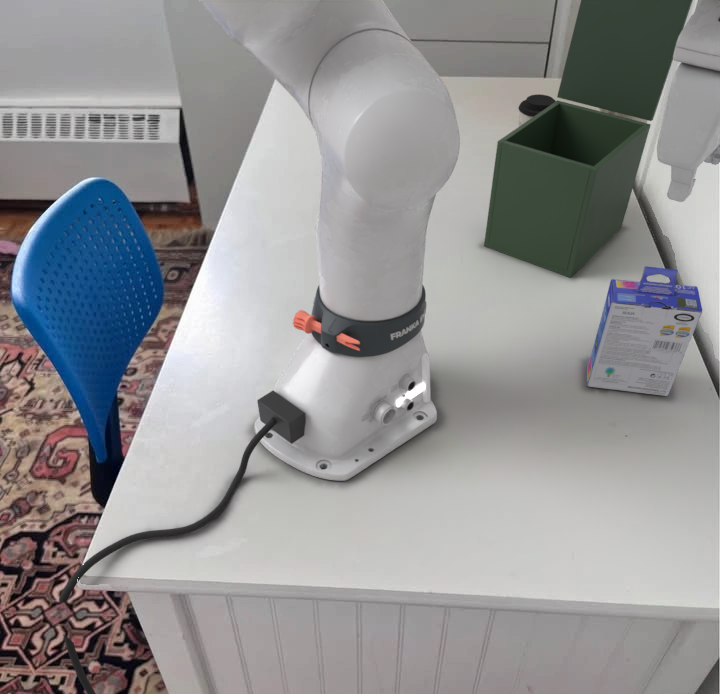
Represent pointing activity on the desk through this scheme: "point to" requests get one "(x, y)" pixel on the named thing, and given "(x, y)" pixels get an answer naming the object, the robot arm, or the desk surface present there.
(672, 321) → the ink cartridge box
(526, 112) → the black capped white jar
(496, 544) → the desk surface
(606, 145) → the bin
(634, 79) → the bin lid
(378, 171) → the robot arm
